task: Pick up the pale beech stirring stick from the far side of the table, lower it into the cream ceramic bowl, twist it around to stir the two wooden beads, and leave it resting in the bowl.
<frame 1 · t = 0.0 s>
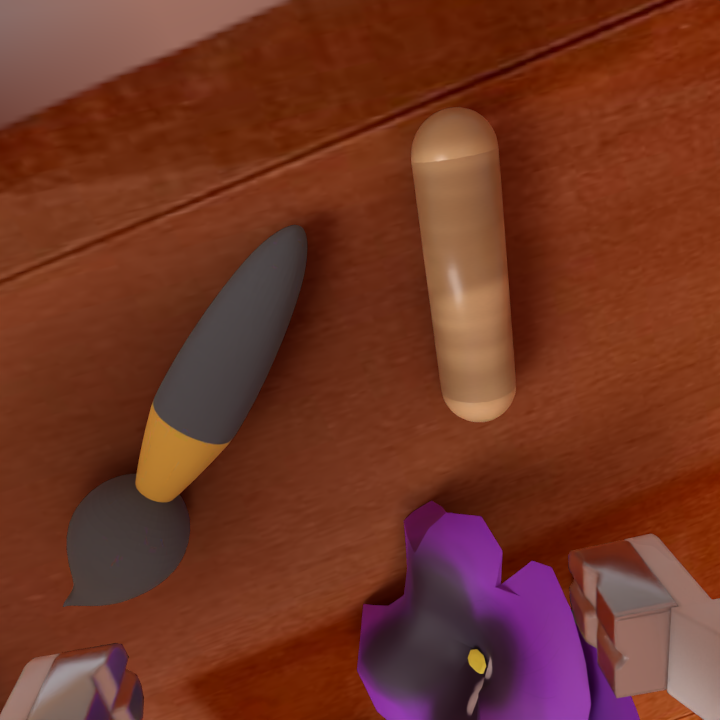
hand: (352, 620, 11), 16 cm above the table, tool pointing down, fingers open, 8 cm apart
flower: (491, 585, 32), on the table
paintbrush: (184, 407, 27), on the table
stick: (457, 269, 25), on the table
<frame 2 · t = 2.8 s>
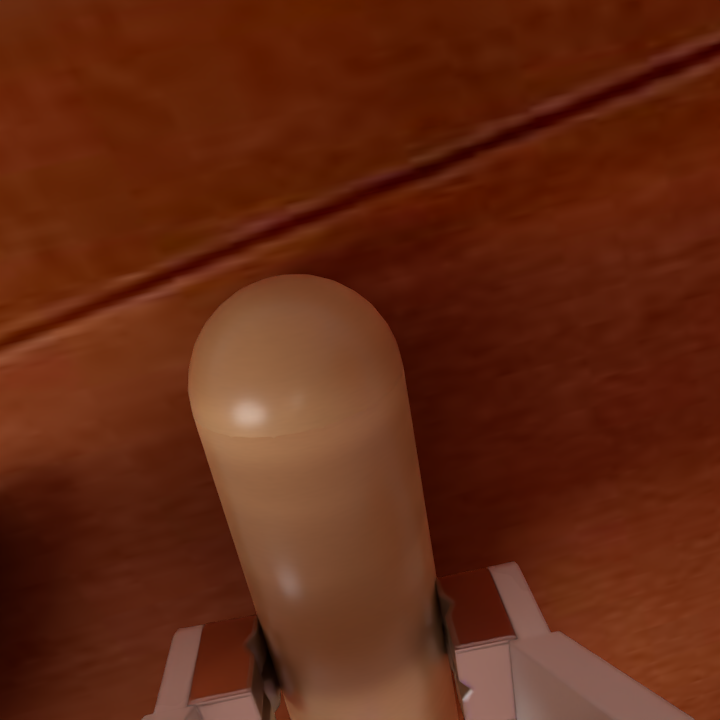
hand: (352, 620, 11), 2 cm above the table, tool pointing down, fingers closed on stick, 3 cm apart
stick: (346, 555, 12), on the table, touching gripper
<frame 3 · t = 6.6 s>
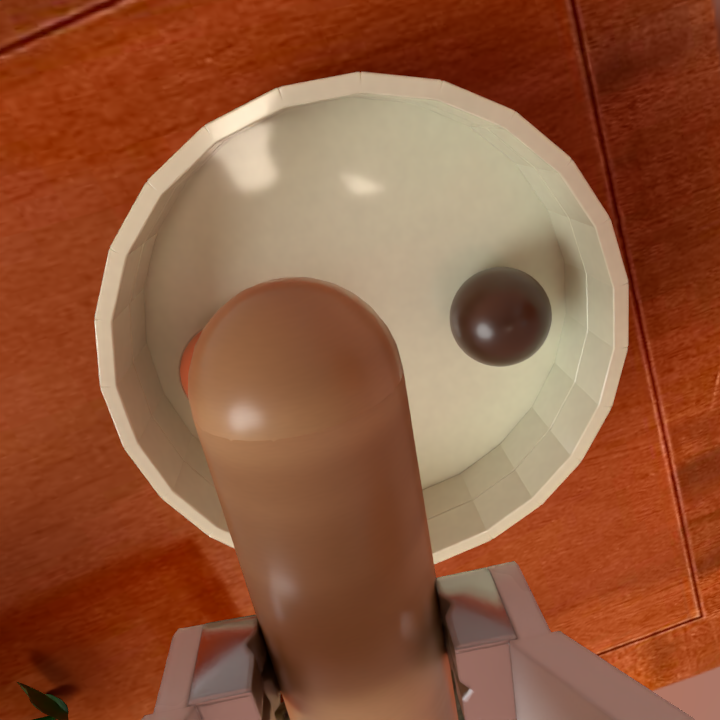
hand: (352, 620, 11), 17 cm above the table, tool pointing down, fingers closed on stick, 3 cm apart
bead walnut: (499, 317, 24), point 3 cm above the table, touching bowl
bead terracotta: (230, 370, 24), point 3 cm above the table, touching bowl
bowl: (359, 322, 26), on the table
vegetable: (367, 680, 35), on the table
stick: (346, 557, 12), point 15 cm above the table, touching gripper
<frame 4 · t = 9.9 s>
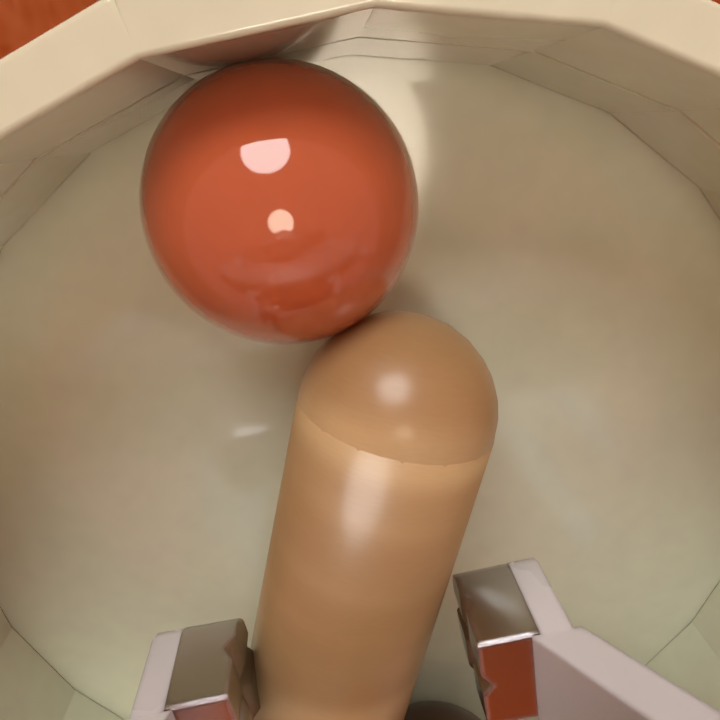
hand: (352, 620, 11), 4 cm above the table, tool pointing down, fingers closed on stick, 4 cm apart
bead terracotta: (283, 209, 9), point 3 cm above the table, tilted 63°, touching bowl, stick
bowl: (377, 490, 14), on the table
stick: (327, 575, 13), point 2 cm above the table, tilted 7°, touching bead terracotta, bead walnut, gripper
when the fingers open (3 cm above the table, at t = 10.7 s): stick stays where it is, resting on bowl.
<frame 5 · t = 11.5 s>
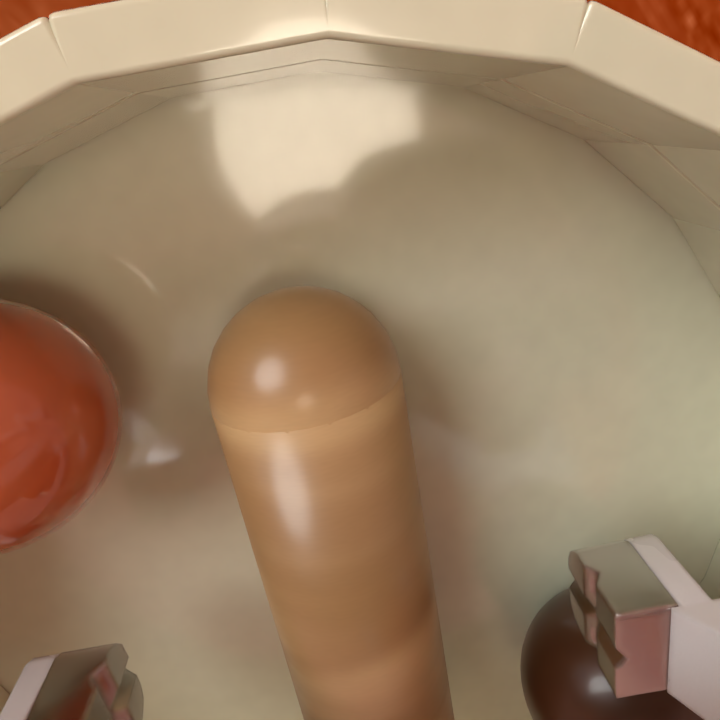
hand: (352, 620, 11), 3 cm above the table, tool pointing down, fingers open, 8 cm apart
bead walnut: (616, 679, 13), point 3 cm above the table, tilted 65°, touching bowl
bowl: (342, 511, 14), on the table
stick: (320, 553, 13), point 1 cm above the table, tilted 24°, touching bowl
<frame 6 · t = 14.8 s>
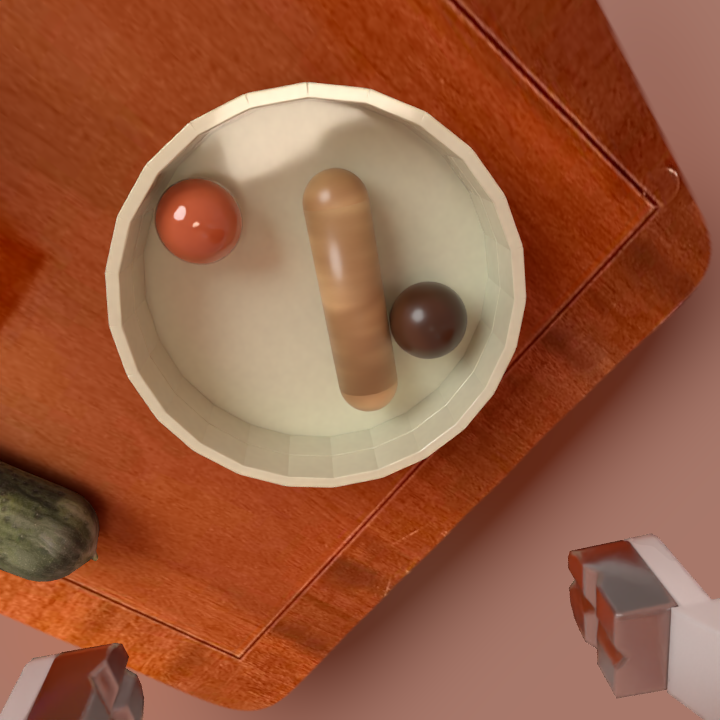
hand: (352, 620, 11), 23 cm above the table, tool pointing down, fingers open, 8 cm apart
bead walnut: (428, 320, 30), point 3 cm above the table, tilted 81°, touching bowl
bead terracotta: (199, 221, 28), point 3 cm above the table, tilted 53°, touching bowl
bowl: (319, 284, 32), on the table
vegetable: (1, 479, 35), on the table
stick: (322, 302, 30), point 2 cm above the table, tilted 80°, touching bowl
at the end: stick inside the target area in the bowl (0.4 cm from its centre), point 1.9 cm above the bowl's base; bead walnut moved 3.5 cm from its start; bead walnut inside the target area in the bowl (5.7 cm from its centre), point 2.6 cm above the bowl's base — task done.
